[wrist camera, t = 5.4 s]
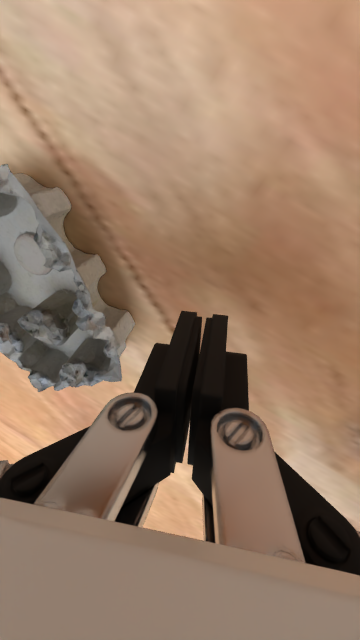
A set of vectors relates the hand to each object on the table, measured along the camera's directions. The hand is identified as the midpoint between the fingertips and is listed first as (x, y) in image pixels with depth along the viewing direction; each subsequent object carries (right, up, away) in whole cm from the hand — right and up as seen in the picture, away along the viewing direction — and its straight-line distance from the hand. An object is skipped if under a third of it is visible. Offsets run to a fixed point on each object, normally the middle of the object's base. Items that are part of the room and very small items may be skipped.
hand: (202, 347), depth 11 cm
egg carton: (-8, +3, +6) cm, 10 cm away
